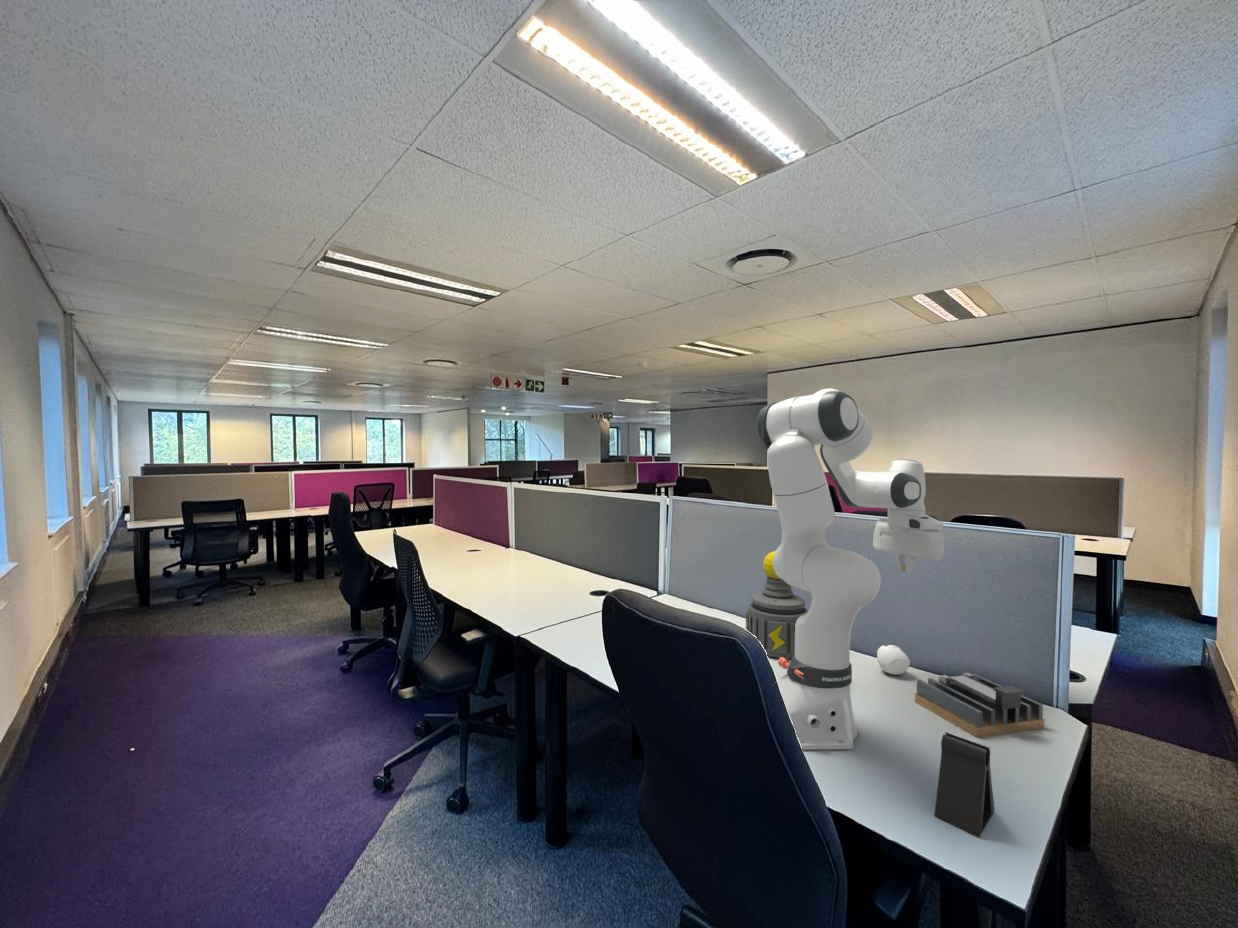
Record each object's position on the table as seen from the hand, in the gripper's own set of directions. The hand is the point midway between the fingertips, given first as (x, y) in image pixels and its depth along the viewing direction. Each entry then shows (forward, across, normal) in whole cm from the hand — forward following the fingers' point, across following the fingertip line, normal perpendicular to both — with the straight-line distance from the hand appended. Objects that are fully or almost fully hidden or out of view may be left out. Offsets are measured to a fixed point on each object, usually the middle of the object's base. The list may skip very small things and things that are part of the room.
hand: (905, 571), depth 134 cm
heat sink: (+28, +20, 0) cm, 35 cm away
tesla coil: (+28, -27, -21) cm, 44 cm away
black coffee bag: (+30, +45, -33) cm, 63 cm away
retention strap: (+23, +20, 0) cm, 31 cm away
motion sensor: (+28, -3, -1) cm, 28 cm away
